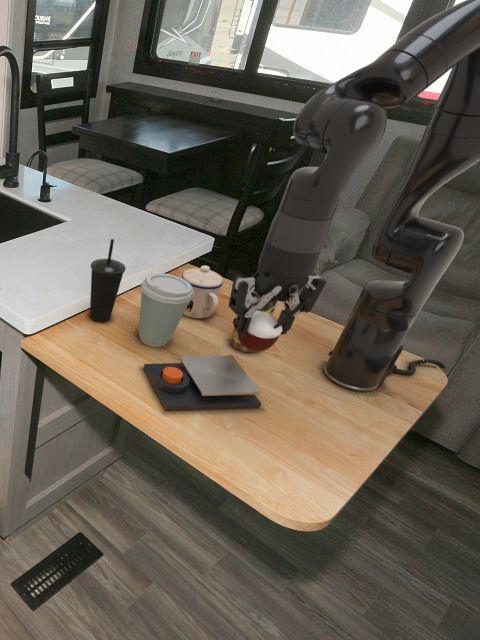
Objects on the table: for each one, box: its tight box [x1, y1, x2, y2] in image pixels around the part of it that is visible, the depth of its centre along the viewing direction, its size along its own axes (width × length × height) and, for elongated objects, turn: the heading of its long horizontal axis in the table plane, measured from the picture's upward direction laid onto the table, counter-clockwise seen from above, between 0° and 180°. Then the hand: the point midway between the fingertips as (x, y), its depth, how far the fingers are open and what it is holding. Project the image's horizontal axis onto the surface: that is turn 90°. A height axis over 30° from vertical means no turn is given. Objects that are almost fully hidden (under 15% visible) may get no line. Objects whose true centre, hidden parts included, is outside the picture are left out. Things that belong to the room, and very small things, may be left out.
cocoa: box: [232, 297, 312, 352], centre depth 86 cm, size 10×6×12 cm, turn 11°
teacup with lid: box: [181, 265, 224, 319], centre depth 123 cm, size 12×9×12 cm
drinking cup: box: [89, 238, 127, 324], centre depth 119 cm, size 8×8×20 cm
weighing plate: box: [178, 354, 261, 396], centre depth 101 cm, size 11×12×1 cm
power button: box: [162, 367, 183, 384], centre depth 101 cm, size 4×4×2 cm
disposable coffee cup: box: [138, 272, 194, 348], centre depth 112 cm, size 11×11×15 cm
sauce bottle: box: [230, 285, 278, 353], centre depth 109 cm, size 6×6×20 cm
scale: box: [142, 362, 262, 412], centre depth 102 cm, size 18×13×3 cm
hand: (260, 332), depth 88 cm, fingers closed on cocoa, 6 cm apart
